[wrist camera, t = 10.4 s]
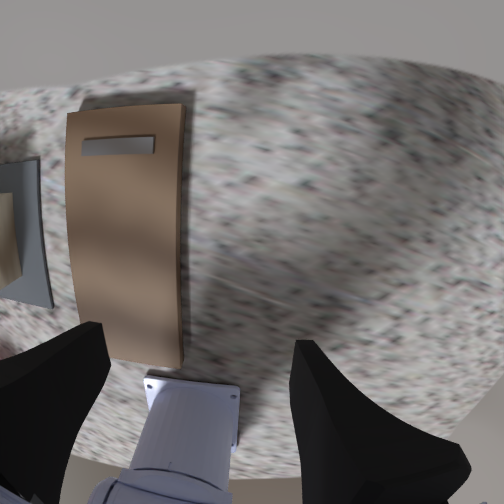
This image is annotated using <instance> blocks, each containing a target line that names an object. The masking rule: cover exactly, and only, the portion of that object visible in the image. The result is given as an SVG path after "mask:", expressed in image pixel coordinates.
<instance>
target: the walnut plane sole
mask: <svg viewBox="0 0 504 504" xmlns="http://www.w3.org/2000/svg"><path fill="white" fill-rule="evenodd" d="M185 114H186V106H184V105H183V104H153V105H136V106H123V107H112V108H103V109H94V110H86V111H79V112H72V113H67V126H66V144H65V201H66V220H67V234H68V245H69V254H70V263H71V271H72V278H73V284H74V291H75V297H76V303H77V308H78V313H79V318H80V323H81V324H82V323H85V322H87V321H92V322H99V323H102V326H103V331H104V336H105V340H106V345H107V349H108V354H109V357H110V358H115V359H120V360H125V361H131V362H137V363H142V364H148V365H155V366H161V367H168V368H176V369H181V367H182V364H183V361H184V354H183V336H182V312H181V270H180V228H181V185H182V161H183V143H184V128H185Z"/></svg>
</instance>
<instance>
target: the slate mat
mask: <svg viewBox="0 0 504 504" xmlns="http://www.w3.org/2000/svg"><path fill="white" fill-rule="evenodd" d="M0 193H12V195H13V210H14V222H15V231H16V239H17V247H18V254H19V260H20V266H21V272H22V276H21V277H20V278H18V279H16V280H15V281H13V282H12V283H10V284H9V285H7V286H6V287H4V288H3V289H1V290H0V297H2V298H6V299H10V300H14V301H18V302H22V303H27V304H31V305H35V306H40V307H45V308H49V309H53V308H54V306H53V301H52V296H51V291H50V285H49V280H48V274H47V267H46V260H45V253H44V245H43V236H42V225H41V212H40V193H39V160H34V161H25V162H17V163H9V164H2V165H0Z"/></svg>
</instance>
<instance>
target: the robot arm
mask: <svg viewBox="0 0 504 504" xmlns="http://www.w3.org/2000/svg"><path fill="white" fill-rule="evenodd" d="M110 367H111V362H110V358H109V354H108V349H107V345H106V340H105V336H104V331H103V326H102V323H99V322H92V321H87V322H85V323H82V324H80V325H78V326H76V327H74V328H72V329H70V330H68V331H66V332H64V333H62V334H60V335H58V336H56V337H54V338H52V339H51V340H49V341H47V342H44V343H42V344H40V345H38V346H36V347H34V348H32V349H30V350H27V351H25V352H23V353H20V354H18V355H15V356H12V357H10V358H7V359H4V360H0V504H59V500H60V493H61V488H62V483H63V479H64V474H65V470H66V467H67V463H68V459H69V457H70V453H71V450H72V448H73V445H74V442H75V439H76V437H77V434H78V432H79V430H80V428H81V426H82V424H83V422H84V420H85V418H86V416H87V415H88V413H89V411H90V409H91V407H92V406H93V404H94V402H95V400H96V398H97V397H98V395H99V393H100V391H101V389H102V388H103V386H104V383H105V381H106V378H107V376H108V373H109V370H110ZM143 382H144V387H145V392H146V397H147V402H148V407H149V414H148V417H147V420H146V422H145V425H144V428H143V431H142V433H141V436H140V439H139V442H138V444H137V447H136V450H135V453H134V456H133V458H132V461H131V464H130V467H129V469H126V468H122V471H121V473H120V476H119V479H117V478H115V477H108V478H106V479H105V480H103V481H100V482H99V483H98V484H97V485H96V486H95V488H94V489H93V491H92V493H91V495H90V497H89V500H88V503H87V504H232V493H230V492H228V481H229V469H230V456H231V453H234V452H236V446H237V431H238V416H239V402H240V388H239V387H237V386H233V385H221V384H211V383H201V382H193V381H185V380H177V379H170V378H163V377H157V376H151V375H146V376H145V377H144V379H143ZM149 384H150V385H152V386H150V385H149ZM289 390H290V406H291V412H292V418H293V423H294V428H295V434H296V439H297V444H298V450H299V455H300V463H301V477H302V499H303V504H449V503H448V501H447V500H448V499H449V498H450V497H451V496H452V495H453V494H454V493H455V492H456V491H457V490H458V489H459V488H460V487H461V486H462V485H463V484H464V482H465V481H466V480H467V479H468V477H469V475H470V473H471V465H470V463H469V461H468V459H467V458H466V456H465V454H464V452H463V450H462V449H461V447H460V445H459V444H457V443H454V442H451V441H448V440H445V439H442V438H439V437H436V436H433V435H431V434H428V433H426V432H424V431H422V430H420V429H417V428H415V427H413V426H411V425H409V424H407V423H405V422H404V421H402V420H400V419H398V418H397V417H395V416H394V415H392V414H390V413H389V412H387V411H386V410H384V409H383V408H381V407H380V406H378V405H377V404H376V403H374V402H373V401H372V400H370V399H369V398H368V397H367V396H365V395H364V394H363V393H362V392H361V391H359V390H358V389H357V388H356V387H355V386H354V385H353V384H352V383H351V382H350V381H349V380H348V379H347V378H346V377H345V376H344V375H343V374H342V373H341V372H340V371H339V370H338V369H337V368H336V367H335V365H334V364H333V363H332V362H331V361H330V360H329V359H328V357H327V356H326V355H325V354H324V353H323V351H322V350H321V349H320V348H319V346H318V345H317V344H316V343H315V342H314V341H313V340H296V342H295V349H294V355H293V362H292V368H291V374H290V381H289ZM232 395H236V396H232ZM481 504H487V502H482V503H481Z"/></svg>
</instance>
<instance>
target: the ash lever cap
mask: <svg viewBox="0 0 504 504" xmlns="http://www.w3.org/2000/svg"><path fill="white" fill-rule="evenodd" d="M21 276H22V272H21V266H20V260H19V254H18V247H17V239H16V231H15V222H14V210H13V195H12V193H0V290H1V289H3V288H4V287H6V286H7V285H9V284H10V283H12V282H13V281H15V280H16V279H18V278H20V277H21Z"/></svg>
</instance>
